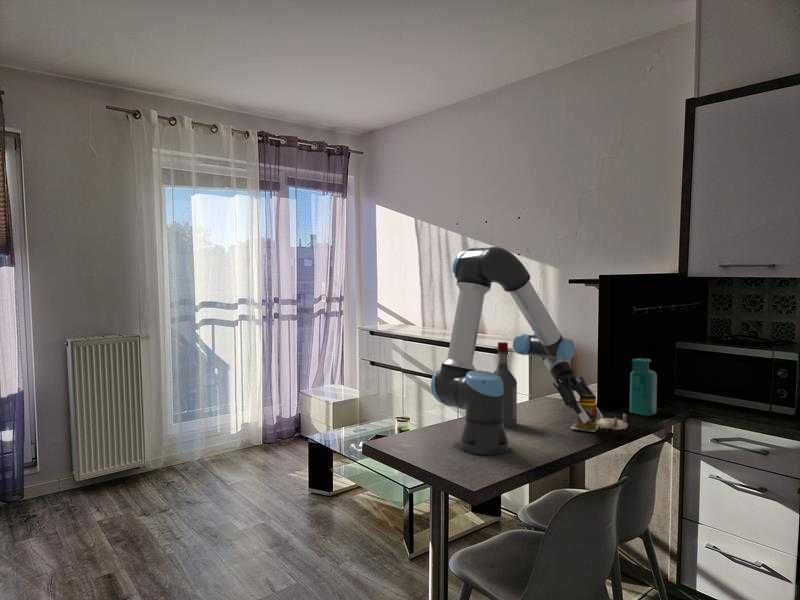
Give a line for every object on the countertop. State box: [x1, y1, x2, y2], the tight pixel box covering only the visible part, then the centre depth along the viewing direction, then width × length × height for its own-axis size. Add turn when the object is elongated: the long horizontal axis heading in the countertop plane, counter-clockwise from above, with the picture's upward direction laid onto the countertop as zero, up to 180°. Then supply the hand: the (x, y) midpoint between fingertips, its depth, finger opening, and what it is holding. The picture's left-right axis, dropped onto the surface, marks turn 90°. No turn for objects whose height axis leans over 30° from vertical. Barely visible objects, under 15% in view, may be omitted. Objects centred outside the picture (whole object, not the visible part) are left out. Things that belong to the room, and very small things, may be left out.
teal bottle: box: [629, 358, 658, 417], centre depth 210 cm, size 10×8×22 cm
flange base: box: [596, 413, 629, 431], centre depth 192 cm, size 12×12×4 cm
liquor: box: [493, 341, 518, 428], centre depth 193 cm, size 9×9×30 cm
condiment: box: [570, 393, 599, 433], centre depth 186 cm, size 7×8×12 cm
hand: (593, 420), depth 183 cm, fingers closed on condiment, 6 cm apart
